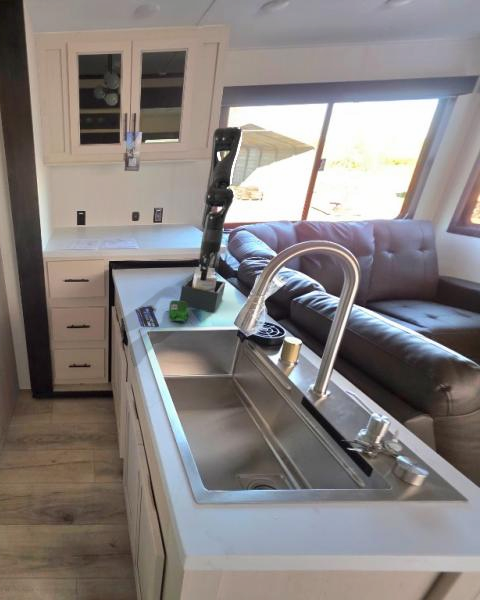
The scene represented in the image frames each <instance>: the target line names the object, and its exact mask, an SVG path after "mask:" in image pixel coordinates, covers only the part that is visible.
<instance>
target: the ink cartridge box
mask: <svg viewBox="0 0 480 600" xmlns="http://www.w3.org/2000/svg"><path fill="white" fill-rule="evenodd" d="M200 269H201V268H200V267H198V266H196V267H195V271H194V274H193V276H194V279H193V284H192V288H197V289H202V290H207V291H212V292H214V291H215V286H216V281H218V277H217V276H216V275H215V274H214V271H215V272H216V268H209V269H208V272H207V278H206V280H205V281H203V280H200V278H201V271H200ZM203 269H206V268H203Z"/></svg>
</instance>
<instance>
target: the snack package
mask: <svg viewBox="0 0 480 600" xmlns="http://www.w3.org/2000/svg"><path fill="white" fill-rule="evenodd" d="M168 313H169V314H168V317H169V320H170V321H172V322H188V321H189V307H188V305H187V302H185V301H180V300H171V301H170V303H169V311H168Z"/></svg>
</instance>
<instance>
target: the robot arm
mask: <svg viewBox="0 0 480 600" xmlns="http://www.w3.org/2000/svg"><path fill="white" fill-rule="evenodd" d="M242 137H243V129H242V127H240V126H226V127H225V126H224V127H223V126H221V127H217V128H216V129H215V130H214V132H213V135H212V142H211V158H210V167H209V172H208V178H207V186H206V192H205V194H204V197H203V202H204V210H203V215H202V219H201V228H202V230H203V231H202V236H201V243H200V250H199V257H198V264H197V267H200V268H201V269H200V271H201V278H200V280H203V281H205V280H206V278H207V272H208V269H209V268H215V269H216V268H218V267H217V263H218V258H219V252H220V251H221V247H222V241H223V235H224V227H225V222H226V218H227V214H228V212H229V210H230V207H231V206H232V204H233V202H234V200H235V195H236V193H235V191H234V189H233V188H232V187H231V188H230V186H231V184H232V179H233V173H234V168H235V164H236V160H237V157H238V154H239V151H240V147H241V144H242ZM220 152H223V153H224V152H227V154H226V155H225V156H224V157H223V158H221V153H220ZM214 208H220V210H218V211H215V212H214V211H212V210H213V209H214ZM203 268H206V269H203ZM215 273H216V270H215V271H214V275H215Z"/></svg>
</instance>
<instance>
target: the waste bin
mask: <svg viewBox="0 0 480 600" xmlns="http://www.w3.org/2000/svg"><path fill="white" fill-rule="evenodd" d="M193 279H194V275H191V276H190V277H189V278H188V279H187V280H186V281H185V282H184V283H183V284H182V285H181V288H180V289H181V290H180V297H179V301H185V302H187V305H188V308H192V309H197V310H201V311H204V312H208V313H212V314H213V313H215V312H216V311H217V309H218V308H219V306H220V304H221V302H222V301H223V297H224V291H225V286H226V281H224V280H217V281H216V286H215V291H214V292H212V291H207V290H202V289H197V288H192V284H193Z"/></svg>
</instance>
